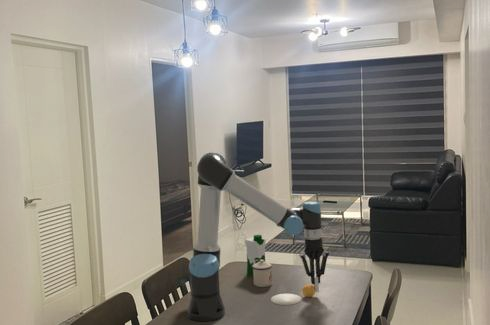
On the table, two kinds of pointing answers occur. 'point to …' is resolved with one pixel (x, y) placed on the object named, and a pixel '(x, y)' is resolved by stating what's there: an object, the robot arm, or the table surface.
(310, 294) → the ball
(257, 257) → the milk carton
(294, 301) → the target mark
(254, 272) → the teacup with lid
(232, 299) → the table surface
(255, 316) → the table surface
